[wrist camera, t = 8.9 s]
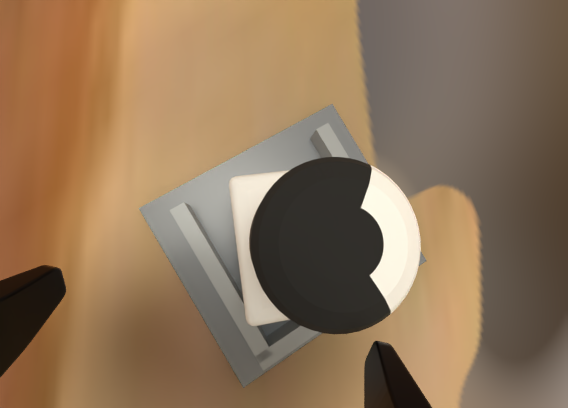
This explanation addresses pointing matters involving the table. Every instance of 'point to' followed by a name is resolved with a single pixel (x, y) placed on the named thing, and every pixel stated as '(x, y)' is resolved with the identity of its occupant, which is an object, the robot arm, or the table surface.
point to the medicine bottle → (324, 245)
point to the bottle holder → (222, 242)
